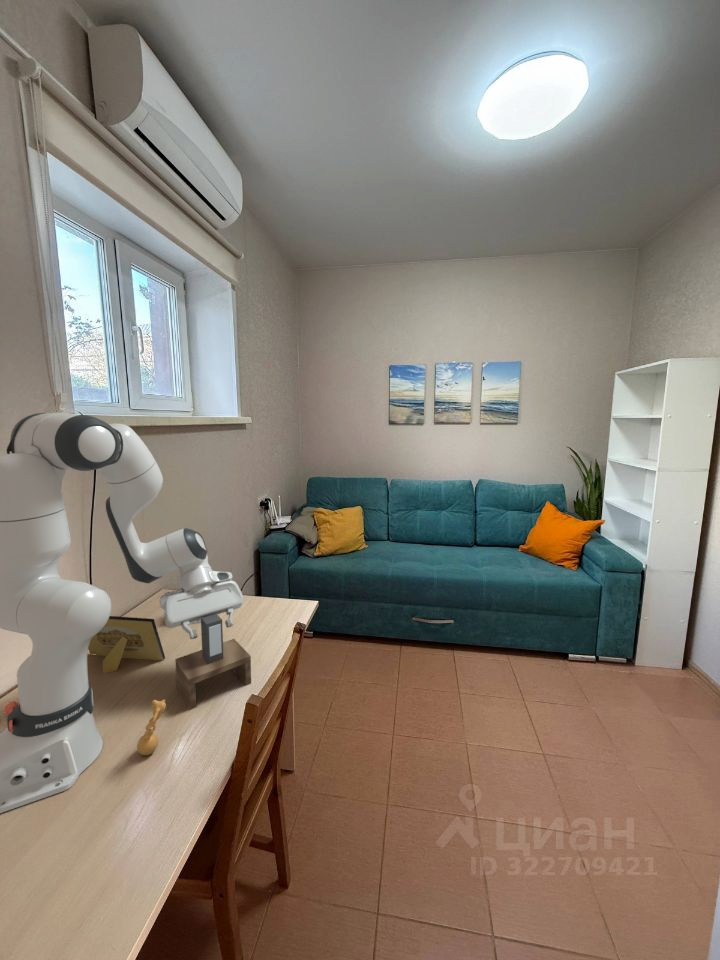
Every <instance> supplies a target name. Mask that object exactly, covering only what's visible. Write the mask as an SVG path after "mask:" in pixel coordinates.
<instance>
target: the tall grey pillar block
mask: <svg viewBox="0 0 720 960" xmlns="http://www.w3.org/2000/svg"><path fill="white" fill-rule="evenodd" d="M200 631H201V633H200V634H201V635H200V636H201V650H202V657H203V658H204V659H205V661H206V662H207V663H208V664H210V663H213V662H216V661H218V660H221V659H223V642H224V638H223V637H224V635H223V619H222V618H221V617H220V616H219V614H216V613H215V614H212V615H208V616H205V617H202V618H201V622H200Z"/></svg>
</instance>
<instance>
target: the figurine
mask: <svg viewBox="0 0 720 960" xmlns="http://www.w3.org/2000/svg"><path fill="white" fill-rule="evenodd" d="M151 706H152V710H151V712H152V714H153V715H152V717H151V718H150V719H149V720H148V724H147V725H146V726H145V730H146V731H144V732H143V733H144V734H143V735H142V736H141V737H139V739H138V741H137V744H136V749H137V752H138V754H140V755H141V756H149V755H150V754H153V753H154V752H155V750H156V749H157V747H158V744H159V737H158V735H157V734H155V733H154V732H155V730H156V729H157V721H158V720H159V719H160V718H161V716H162V714H163V713H164V711H165V710H166V707H167V704H166V699H162V700H156V699H153V700H152V701H151Z"/></svg>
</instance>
